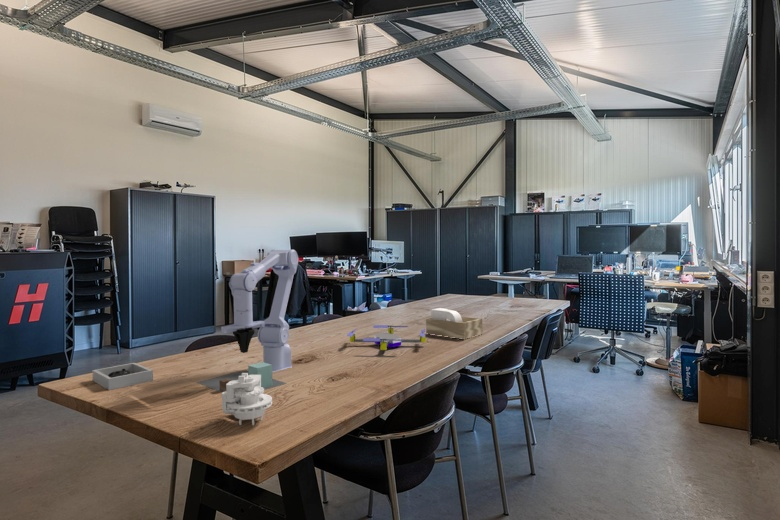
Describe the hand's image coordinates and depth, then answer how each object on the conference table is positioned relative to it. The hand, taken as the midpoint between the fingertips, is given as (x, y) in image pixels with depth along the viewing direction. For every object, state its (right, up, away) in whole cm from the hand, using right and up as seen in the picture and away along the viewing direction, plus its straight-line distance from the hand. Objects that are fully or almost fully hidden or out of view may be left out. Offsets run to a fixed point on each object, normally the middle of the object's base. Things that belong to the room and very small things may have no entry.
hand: (244, 352), depth 145 cm
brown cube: (-3, -10, -8) cm, 13 cm away
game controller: (-44, -11, +5) cm, 45 cm away
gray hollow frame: (-42, -11, +4) cm, 44 cm away
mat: (-1, -10, -1) cm, 10 cm away
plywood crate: (+79, -7, +78) cm, 111 cm away
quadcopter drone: (+46, -9, +54) cm, 71 cm away
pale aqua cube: (+7, -10, -5) cm, 13 cm away
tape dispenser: (+77, -8, +78) cm, 110 cm away
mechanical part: (+11, -11, -32) cm, 35 cm away
